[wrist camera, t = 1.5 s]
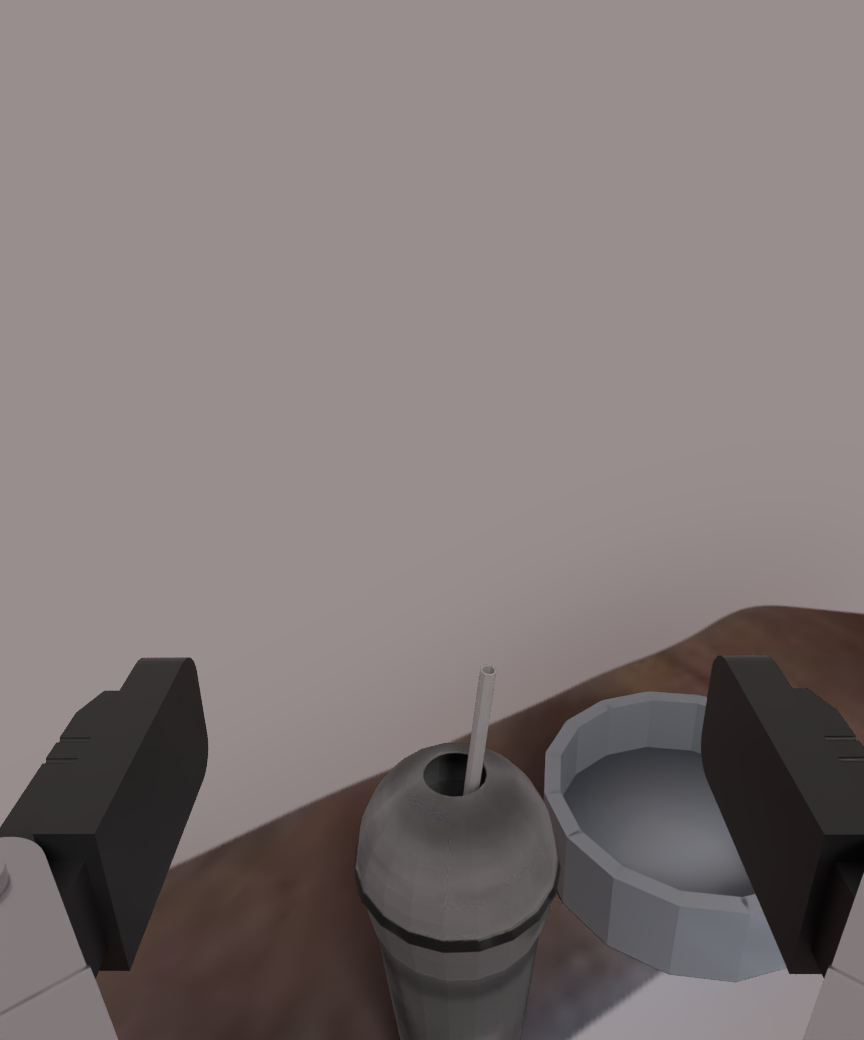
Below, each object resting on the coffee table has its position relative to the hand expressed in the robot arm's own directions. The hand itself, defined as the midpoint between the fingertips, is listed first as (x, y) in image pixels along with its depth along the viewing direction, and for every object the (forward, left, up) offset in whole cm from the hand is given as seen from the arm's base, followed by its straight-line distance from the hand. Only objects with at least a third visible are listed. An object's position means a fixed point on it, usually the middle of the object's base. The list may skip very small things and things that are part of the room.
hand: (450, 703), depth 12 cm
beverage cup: (+5, -9, -27) cm, 29 cm away
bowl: (0, -24, -27) cm, 36 cm away
